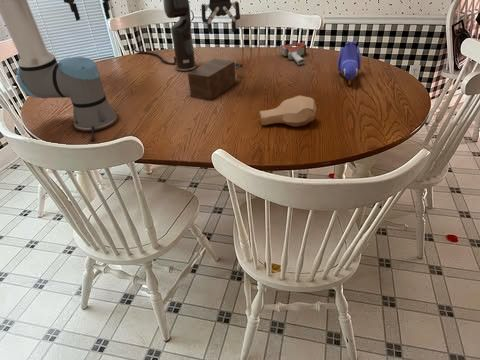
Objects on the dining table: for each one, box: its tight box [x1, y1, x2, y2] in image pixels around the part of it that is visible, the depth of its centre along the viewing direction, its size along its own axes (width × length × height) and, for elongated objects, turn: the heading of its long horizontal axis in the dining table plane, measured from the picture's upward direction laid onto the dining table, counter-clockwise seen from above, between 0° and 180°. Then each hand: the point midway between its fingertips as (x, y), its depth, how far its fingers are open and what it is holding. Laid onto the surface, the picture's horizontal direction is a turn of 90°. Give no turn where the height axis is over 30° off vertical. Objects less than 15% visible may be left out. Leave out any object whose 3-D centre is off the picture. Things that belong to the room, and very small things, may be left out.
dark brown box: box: [187, 58, 237, 101], centre depth 151 cm, size 20×10×10 cm, turn 150°
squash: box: [258, 94, 318, 128], centre depth 122 cm, size 11×20×9 cm, turn 92°
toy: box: [336, 40, 362, 86], centre depth 151 cm, size 10×17×25 cm
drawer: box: [234, 61, 243, 81], centre depth 154 cm, size 25×9×8 cm, turn 150°
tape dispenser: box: [279, 42, 307, 66], centre depth 180 cm, size 18×5×20 cm
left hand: (93, 19), depth 156 cm, fingers open, 13 cm apart
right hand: (222, 32), depth 137 cm, fingers open, 8 cm apart
